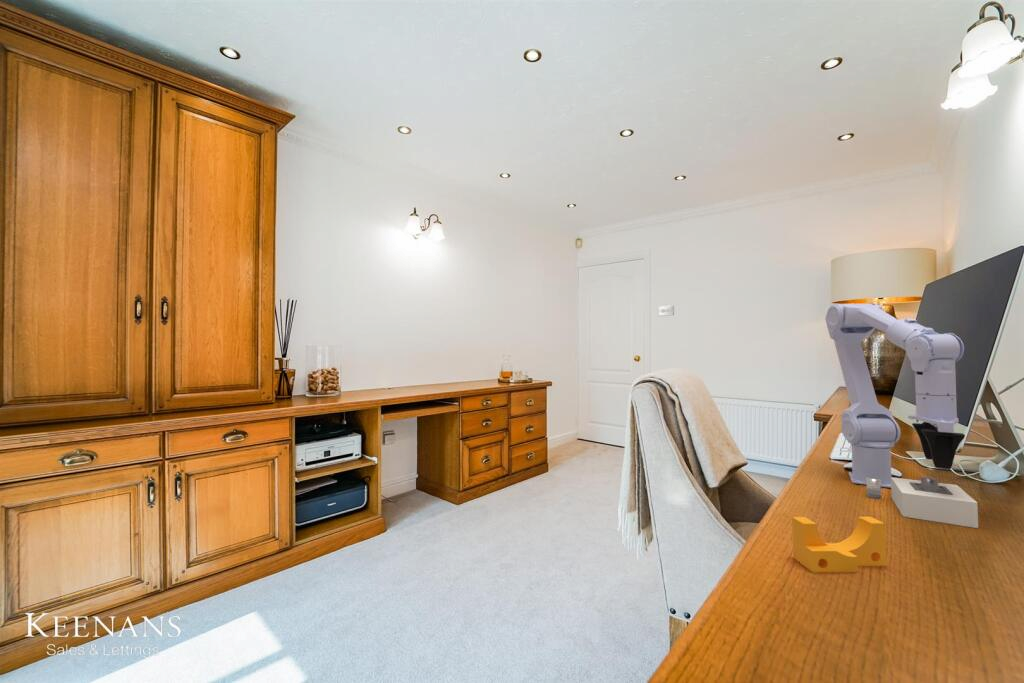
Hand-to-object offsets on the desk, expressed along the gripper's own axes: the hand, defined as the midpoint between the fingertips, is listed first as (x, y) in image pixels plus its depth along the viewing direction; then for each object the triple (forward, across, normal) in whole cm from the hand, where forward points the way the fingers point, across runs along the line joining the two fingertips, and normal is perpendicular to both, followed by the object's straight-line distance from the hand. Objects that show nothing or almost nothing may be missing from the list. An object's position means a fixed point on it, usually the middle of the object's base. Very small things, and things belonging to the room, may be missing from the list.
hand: (937, 463), depth 84 cm
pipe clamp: (+10, +36, -17) cm, 41 cm away
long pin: (+9, +1, -1) cm, 10 cm away
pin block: (+9, +1, -1) cm, 10 cm away
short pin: (+9, -4, -10) cm, 14 cm away
